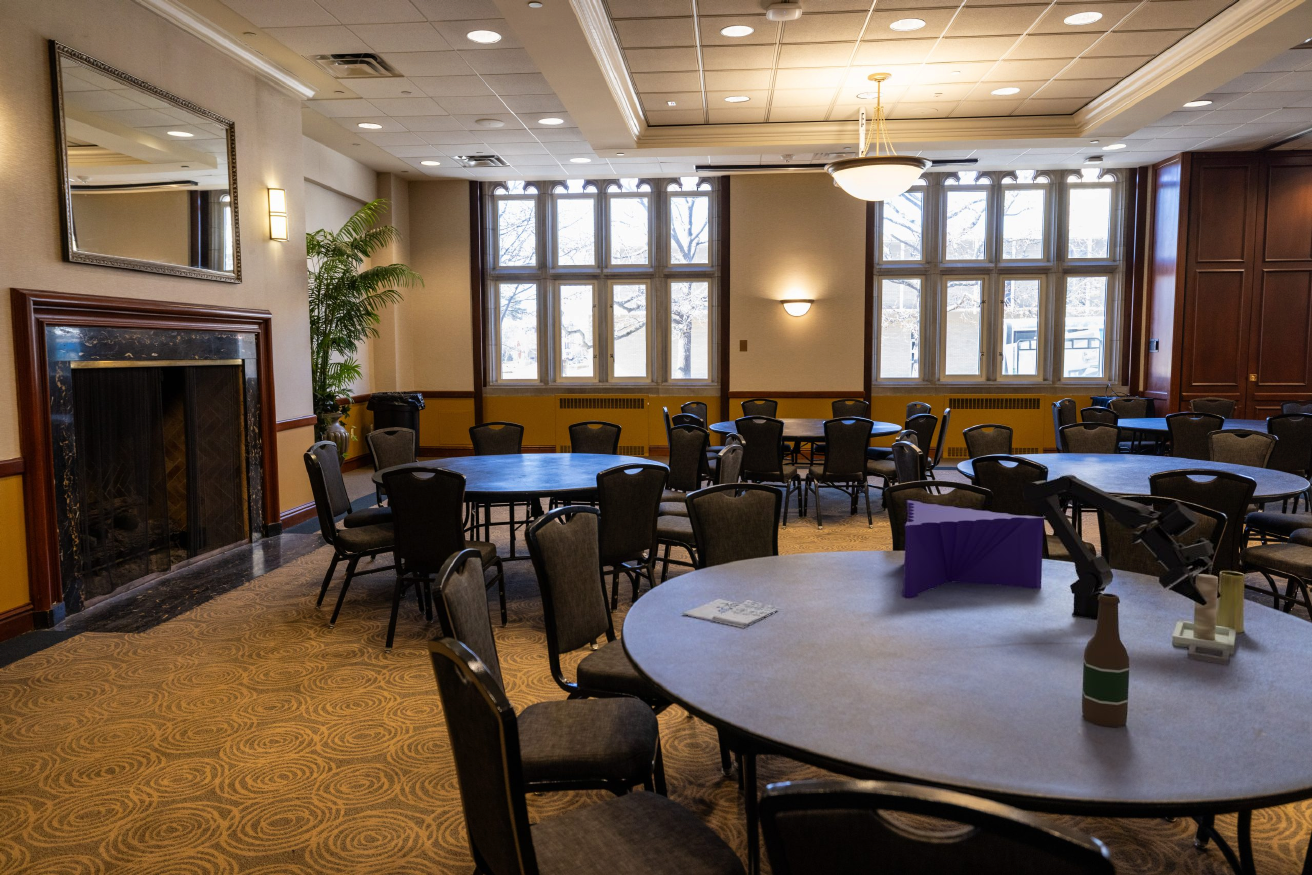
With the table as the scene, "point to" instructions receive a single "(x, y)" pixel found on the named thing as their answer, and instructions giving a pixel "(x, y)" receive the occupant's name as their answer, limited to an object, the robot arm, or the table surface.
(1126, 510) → the robot arm
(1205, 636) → the dowel
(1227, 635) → the tray
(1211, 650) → the holder
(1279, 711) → the table surface
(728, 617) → the white square relief plate
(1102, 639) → the beer bottle
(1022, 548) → the purple jagged triangular block
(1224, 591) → the vase
